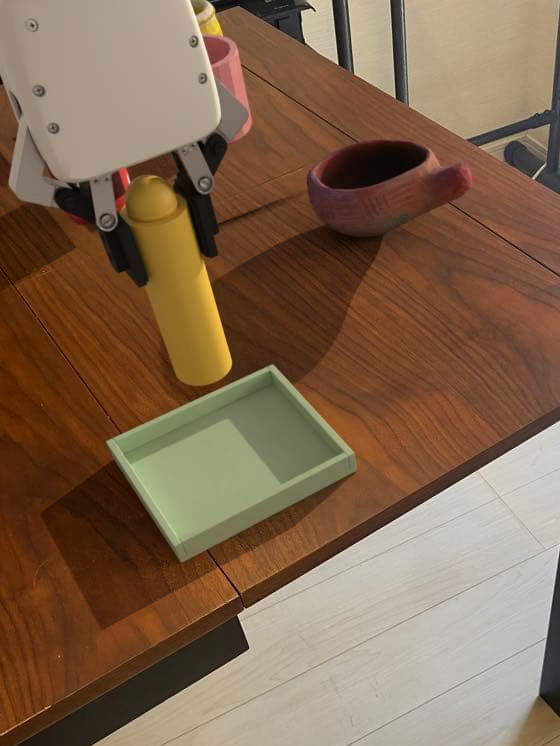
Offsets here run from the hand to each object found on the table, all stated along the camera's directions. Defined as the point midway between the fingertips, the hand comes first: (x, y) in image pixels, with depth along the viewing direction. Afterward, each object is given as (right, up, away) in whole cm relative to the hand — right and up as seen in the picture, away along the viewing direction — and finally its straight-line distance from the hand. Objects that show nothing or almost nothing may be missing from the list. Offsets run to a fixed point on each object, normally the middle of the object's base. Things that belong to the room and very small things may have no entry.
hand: (169, 259), depth 52 cm
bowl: (+13, +15, +35) cm, 40 cm away
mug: (-14, +45, +61) cm, 77 cm away
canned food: (-19, +19, +40) cm, 48 cm away
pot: (-9, +32, +50) cm, 60 cm away
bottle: (+1, -5, +7) cm, 9 cm away
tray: (+1, -12, +15) cm, 19 cm away
